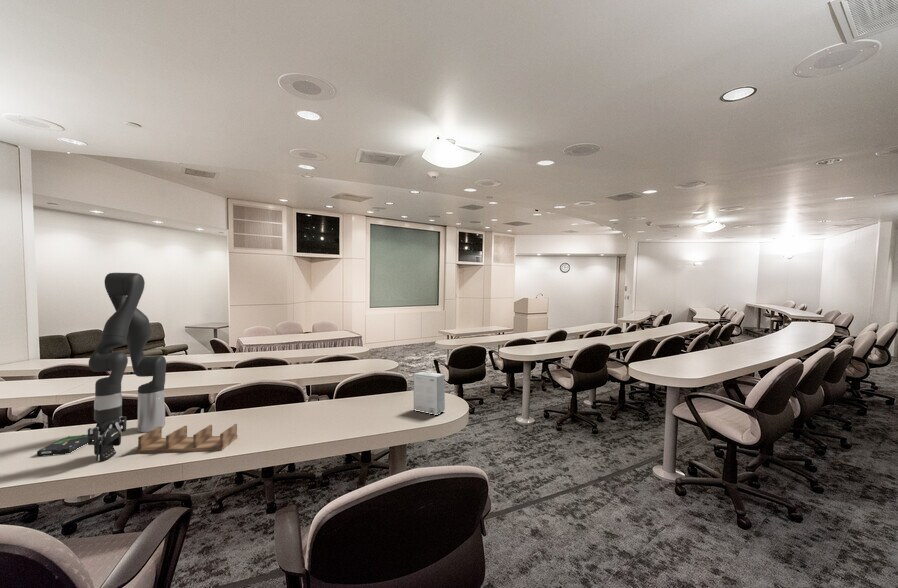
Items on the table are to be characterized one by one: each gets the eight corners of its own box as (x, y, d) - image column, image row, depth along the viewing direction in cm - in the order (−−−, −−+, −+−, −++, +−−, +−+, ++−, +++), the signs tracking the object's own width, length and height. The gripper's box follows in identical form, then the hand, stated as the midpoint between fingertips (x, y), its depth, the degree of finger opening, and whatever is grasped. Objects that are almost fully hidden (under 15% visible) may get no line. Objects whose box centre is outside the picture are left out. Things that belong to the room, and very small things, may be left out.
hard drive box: (445, 412, 183) (445, 374, 183) (437, 416, 177) (437, 377, 177) (421, 407, 192) (421, 371, 192) (412, 411, 185) (413, 373, 185)
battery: (108, 460, 128) (108, 429, 128) (95, 462, 127) (95, 430, 127) (120, 452, 135) (120, 423, 135) (108, 453, 134) (108, 424, 134)
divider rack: (159, 440, 147) (159, 426, 147) (237, 438, 149) (237, 423, 150) (137, 453, 135) (137, 437, 135) (222, 450, 137) (222, 434, 138)
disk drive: (71, 455, 135) (97, 439, 149) (70, 447, 135) (97, 433, 149) (36, 458, 132) (66, 442, 146) (36, 451, 132) (66, 435, 146)
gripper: (113, 400, 138) (113, 442, 138) (79, 412, 124) (78, 459, 123) (134, 399, 139) (134, 441, 138) (102, 411, 124) (101, 458, 124)
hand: (107, 449), depth 131 cm, fingers closed on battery, 7 cm apart
